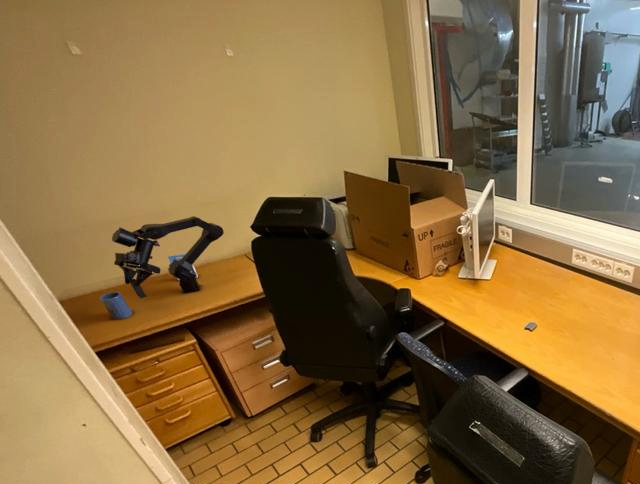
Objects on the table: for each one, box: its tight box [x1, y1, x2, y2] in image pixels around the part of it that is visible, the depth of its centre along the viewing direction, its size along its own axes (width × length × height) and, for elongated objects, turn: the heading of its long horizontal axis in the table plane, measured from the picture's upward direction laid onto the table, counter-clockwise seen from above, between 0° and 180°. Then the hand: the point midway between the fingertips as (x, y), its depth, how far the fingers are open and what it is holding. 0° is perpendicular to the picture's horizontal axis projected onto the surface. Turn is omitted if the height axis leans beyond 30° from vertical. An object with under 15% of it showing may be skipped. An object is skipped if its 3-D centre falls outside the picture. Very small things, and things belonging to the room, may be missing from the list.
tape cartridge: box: [167, 253, 199, 282], centre depth 203 cm, size 9×4×12 cm, turn 119°
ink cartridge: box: [128, 278, 148, 299], centre depth 175 cm, size 5×2×8 cm, turn 53°
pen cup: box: [99, 291, 133, 320], centre depth 173 cm, size 7×7×10 cm
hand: (131, 284), depth 173 cm, fingers closed on ink cartridge, 5 cm apart
